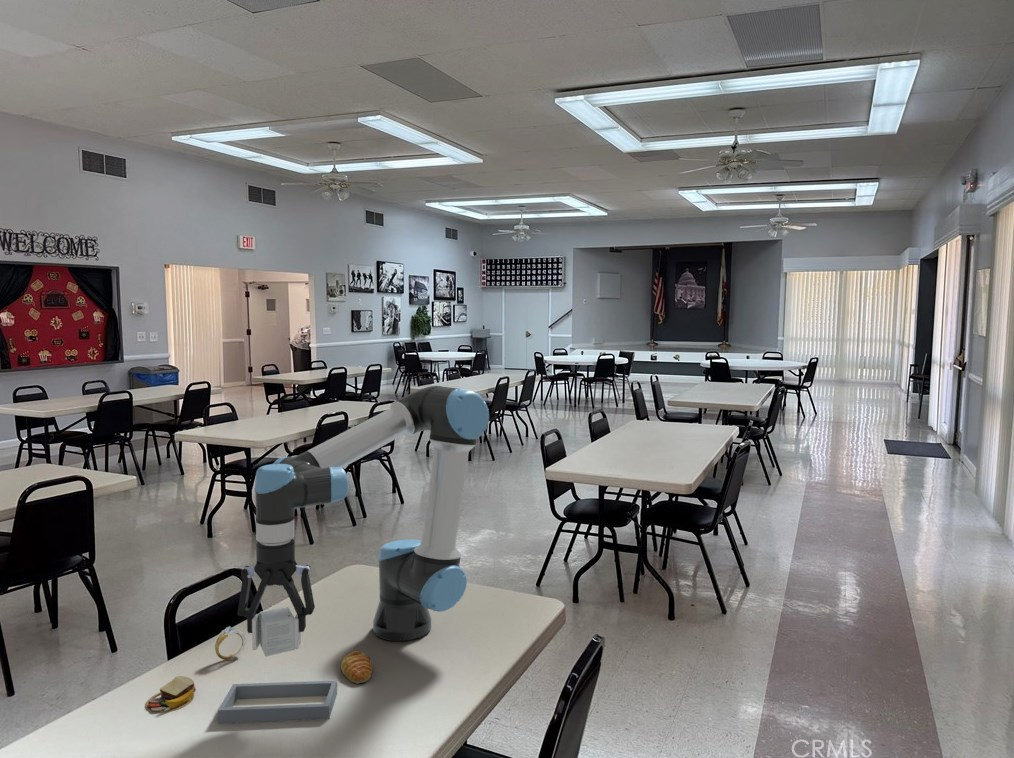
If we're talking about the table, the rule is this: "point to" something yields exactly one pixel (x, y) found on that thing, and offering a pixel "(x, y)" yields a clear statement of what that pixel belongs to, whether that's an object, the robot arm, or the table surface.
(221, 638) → the ring
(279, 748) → the table surface
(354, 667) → the pastry
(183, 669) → the table surface
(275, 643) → the product box
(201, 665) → the table surface
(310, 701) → the tray
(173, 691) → the toy sandwich meal
